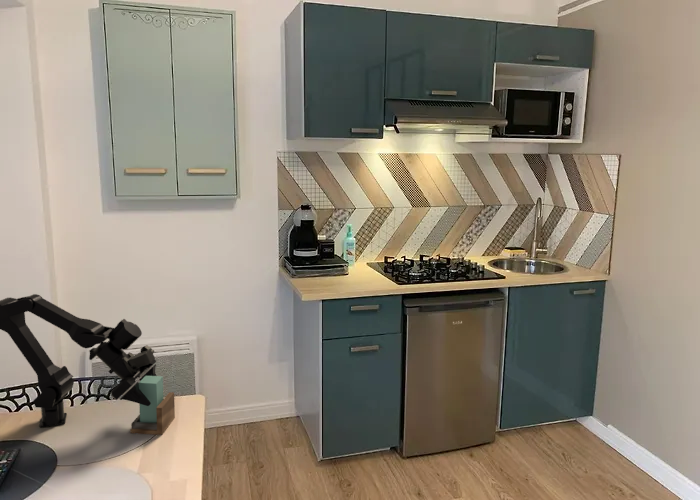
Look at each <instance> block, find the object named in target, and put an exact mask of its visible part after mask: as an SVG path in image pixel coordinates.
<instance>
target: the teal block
mask: <svg viewBox="0 0 700 500" xmlns="http://www.w3.org/2000/svg"><path fill="white" fill-rule="evenodd" d="M138 382H139V389H140V390H141V392H142V393H143V394H144V395H145V396H146V397H147V399H148V400H149V401H150V402H151V404H150V405H149V406H146V405H142V404H139V403H138V404H139V414H140V422H145V423H157V413H156V408H157V406H158V405H159V404H160V403H161V402H162V400H163V399H164V398H165V396H164V376H161V375H156V376H145V377H144V378H143V379H142V380H141V381H140V380H139V381H138Z"/></svg>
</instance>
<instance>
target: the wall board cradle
mask: <svg viewBox="0 0 700 500" xmlns="http://www.w3.org/2000/svg"><path fill="white" fill-rule="evenodd" d="M175 405H176V404H175V392H171V391H170V392H168V393H167V394H166V395H165V396H164V399H163V400H162V402H161V403H160V404H159V405H158V406H157V408H156V413H157V423H145V422H140V413H139V414H138V415H137V417H135V419H134V420H133V421H132V422H131V424H130V425H131V429H130V434H135V433H138V434H140V435H157V436H158V435H163V434H164V433H165V432H166V431H167V429H168V428H169V426H170V425H171V424H172V422H173V421H174V420H175V419H176V414H175V411H176V409H175Z"/></svg>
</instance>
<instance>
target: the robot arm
mask: <svg viewBox="0 0 700 500" xmlns="http://www.w3.org/2000/svg"><path fill="white" fill-rule="evenodd" d="M27 312H29V313H31V314H33V315H34V316H37V317H38V318H40V319H42V320H43V321H45V322H48V323H50V324H51V325H53V326H55V327H57V328H59V329H60V330H63V331H64V332H65V333H67V334H68V337H70V339H71V340H72V341H73V342H75V343H76V344H77V345H78V346H80V347H81V348H83V349H89V351H88V352H89V358H88V359H89V361H92V360H93V359H94V358H96V357H97V358H98V359H99V360H100V361H102V362H103V364H105V365H106V366H107V367H108V368H109V371H108V373H109V374H110V375H112V373H114V374H115V376H117V377H118V378H119V379H120V380H119V381H118V382H119V383H118V384H117V385H116V386H115V387H114V388H113V389H112V390H111V391H110V393H111V394H110V395H111V397H112V398H113V399H115V401H117V400H120V401H122V400H124V401H128V402H133V403H137V404H142V405H146V406H149V405H150V404H151V402H150V401H149V400H148V399H147V397H146V396H145V395H144V394H143V393H142V392H141V390H140V389H139V382H140V381H141V380H142V379H143V378H144V377H145V376H157V374H156V367H157V364H156V363H157V360H156V357H155V355H154V353H155V350H154V349H152V347H150V346H149V345H144V346H141V348H140V352H138V353H136V354H133V353H132V352H128V353H127V352H125V350H127V349H129V348H130V347H131V346H132V345H133V344H134V343H135V342H136V341H137V340H138V339H139V338H140V337H141V336H142V334H143V333H142V330H141V328H140V327H139V326H138V324H136V323H135V322H134V323H133V322H131V321H127V320H126V319H125V318H123V319H121V320H120V321H119V322H118V323H117V325H116V326H115V327H111V326H104V325H103V324H102V323H100V322H98V321H95V320H91V319H90V318H89V319H87V318H81V317H79V316H76V315H74V314H72V313H70V312H69V311H66V310H65V309H63V308H61V307H60V306H58V305H56V304H54V303H52V302H50V301H48V300H47V299H44V298H43V297H42V296H41V294H40V295H39V294H37V293H33V294H31V295H28V296H23V297H18V298H15V297H6V298H3V299H1V300H0V330H1V331H2V332H5V333H7V334H8V335H9V337H10V339H12V341H13V343H14V344H15V345H16V347H17V348H18V350H19V351H20V353H21V354H22V356H23V357H24V359H25V360H26V361H27V363H28V365H30V367H31V368H32V370H33V371H34V373H35V374H36V376H37V386H38V389H39V390H40V394H39V395H37V396H36V397H35V398H34V399H33V400H32V401H33V402H32V403H33V405H34V407H35V408H37V409H38V408H40V411H41V412H40V413H41V417H40V422H39V425H38V426H39V428H47V427H54V426H61V425H65V424H66V420H67V415H68V414H67V413H68V412H65V407H64V398H66V397H67V396H68V395H69V392H70V391H71V390H72V389H73V388H74V383H75V381H74V379H73V377H74V376H73V374H71V373H70V371H69V369H68V368H67V366H66V365H63V366H62V367H60V366H58V365H56V364H54V362H53V361H52V359H51V358H50V357H49V355H48V354H47V352H46V351H45V349H44V348H43V346H42V345H41V343H40V341H38V339H37V337H35V335H34V334H33V332H32V331H31V329H30V328H29V327H28V325H27V323H26V314H25V313H27ZM106 340H108V341H106ZM96 345H98V346H96ZM94 346H96V347H94ZM90 348H91V349H90ZM138 378H139V381H136V380H138Z"/></svg>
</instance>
